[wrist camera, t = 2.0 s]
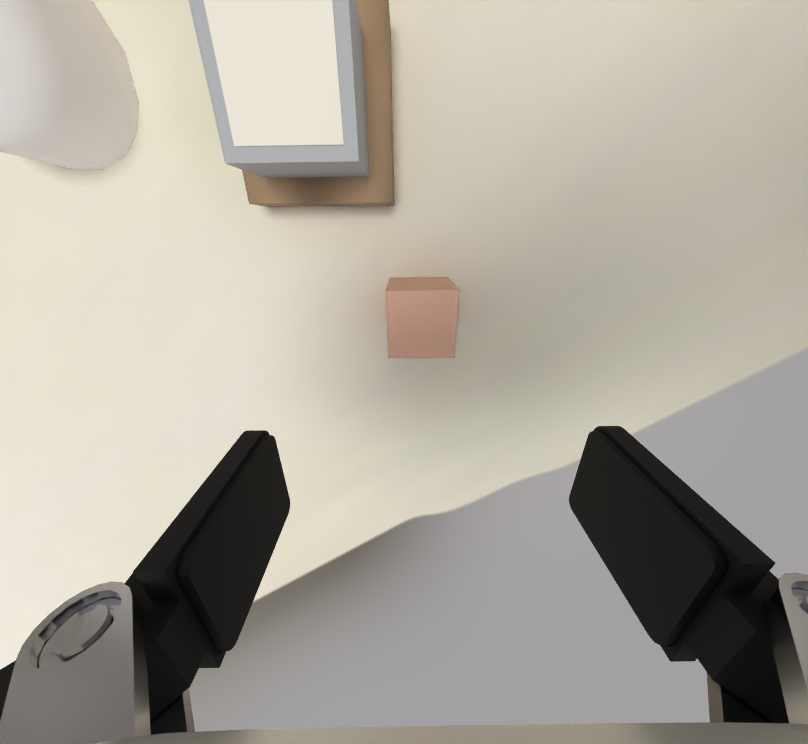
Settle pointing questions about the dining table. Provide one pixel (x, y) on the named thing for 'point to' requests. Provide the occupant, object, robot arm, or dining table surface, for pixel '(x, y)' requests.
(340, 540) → the dining table surface
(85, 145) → the teardrop
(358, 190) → the plinth
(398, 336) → the terracotta block
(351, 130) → the grey block
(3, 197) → the dining table surface
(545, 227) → the dining table surface
